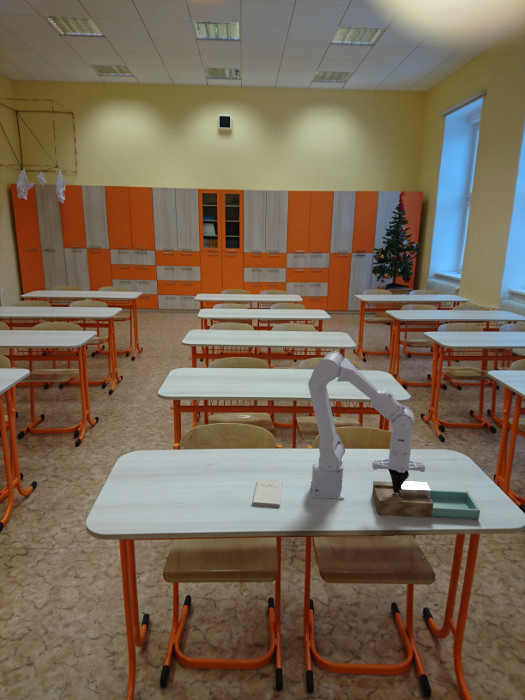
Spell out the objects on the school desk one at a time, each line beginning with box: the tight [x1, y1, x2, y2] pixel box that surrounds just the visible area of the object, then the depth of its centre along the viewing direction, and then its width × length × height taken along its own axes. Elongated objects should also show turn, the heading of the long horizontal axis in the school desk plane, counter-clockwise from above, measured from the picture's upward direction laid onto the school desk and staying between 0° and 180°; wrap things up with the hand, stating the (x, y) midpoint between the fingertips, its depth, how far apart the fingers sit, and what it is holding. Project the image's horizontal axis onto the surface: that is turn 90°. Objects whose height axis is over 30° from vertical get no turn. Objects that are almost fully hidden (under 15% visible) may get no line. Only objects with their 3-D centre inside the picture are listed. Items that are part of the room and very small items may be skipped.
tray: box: [430, 489, 481, 520], centre depth 129 cm, size 13×9×3 cm
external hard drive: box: [252, 479, 284, 508], centre depth 135 cm, size 2×8×12 cm
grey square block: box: [399, 480, 416, 498], centre depth 129 cm, size 4×4×3 cm
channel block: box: [371, 480, 433, 519], centre depth 130 cm, size 15×10×5 cm, turn 86°
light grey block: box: [412, 481, 432, 499], centre depth 129 cm, size 4×4×3 cm
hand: (395, 491), depth 129 cm, fingers closed
